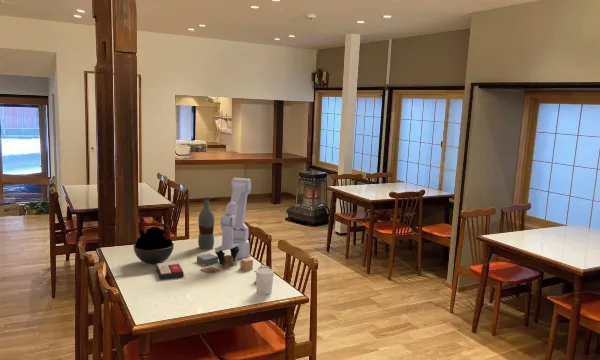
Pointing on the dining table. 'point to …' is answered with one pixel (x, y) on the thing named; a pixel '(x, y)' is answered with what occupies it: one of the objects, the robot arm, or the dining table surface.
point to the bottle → (206, 227)
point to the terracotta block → (246, 264)
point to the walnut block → (227, 261)
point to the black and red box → (169, 270)
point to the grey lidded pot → (264, 267)
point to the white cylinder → (264, 280)
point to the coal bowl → (153, 246)
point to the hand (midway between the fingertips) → (227, 262)
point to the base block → (207, 259)
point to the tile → (210, 270)
